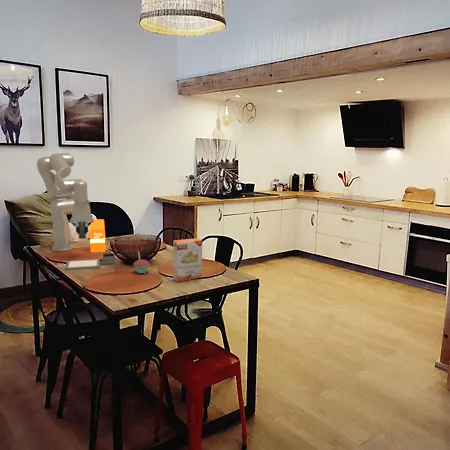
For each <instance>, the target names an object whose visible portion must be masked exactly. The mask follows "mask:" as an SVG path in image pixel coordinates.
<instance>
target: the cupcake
mask: <svg viewBox="0 0 450 450" xmlns="http://www.w3.org/2000/svg"><path fill="white" fill-rule="evenodd" d="M137 254H138V260H135V261H134V262H133V264H132V265H133V267H134V269H135V270H136V273H137V272H138V273H144V274H146V273H147V271H148V268H149V267H150V266H151V263H150V262H149V260H146V259H141V256H140V251H139V250H137ZM138 273H137V274H138Z"/></svg>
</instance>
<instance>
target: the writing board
mask: <svg viewBox="0 0 450 450" xmlns="http://www.w3.org/2000/svg"><path fill="white" fill-rule="evenodd" d="M100 267H101V263H100V258H99V259H85V260H84V259H83V260H67V261H66V264H65V267H64V270H65V271H72V270H86V269H89V270H90V269H100Z"/></svg>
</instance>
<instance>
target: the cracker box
mask: <svg viewBox="0 0 450 450" xmlns="http://www.w3.org/2000/svg"><path fill="white" fill-rule="evenodd" d="M172 245H173V246H172V247H173V249H172V250H173V251H172V254H173V255H172V279H173V280H174V281H175V282H176V283H180V282H179V281H182V282H187V281H186V280H189V281H192V280H191V279H196V280H198V279H197V278H201V279H202V271H203V263H202V262H203V240H201V239H200V238H198V237H195V238H188V239H187V238H186V239H177V240H173V242H172Z"/></svg>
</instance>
